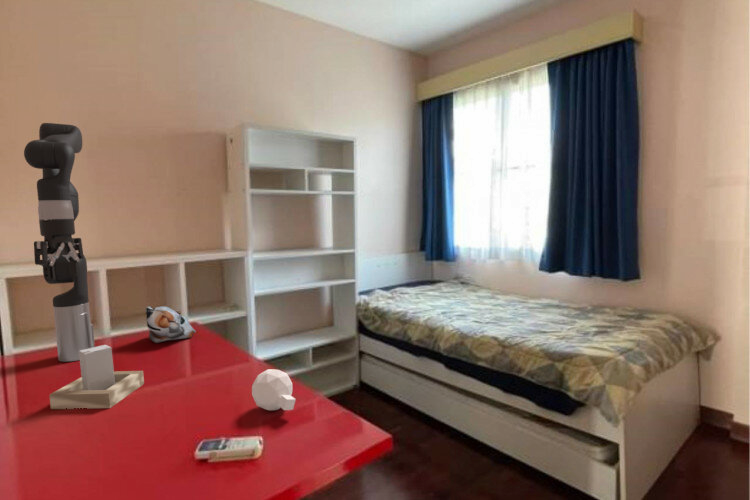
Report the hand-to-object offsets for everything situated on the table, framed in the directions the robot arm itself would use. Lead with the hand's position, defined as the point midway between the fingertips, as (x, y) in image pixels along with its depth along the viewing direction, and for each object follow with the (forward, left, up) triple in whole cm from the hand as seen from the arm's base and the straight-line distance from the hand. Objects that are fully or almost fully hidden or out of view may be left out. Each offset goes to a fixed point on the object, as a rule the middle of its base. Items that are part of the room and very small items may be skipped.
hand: (62, 277), depth 116 cm
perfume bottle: (+22, +62, -28) cm, 72 cm away
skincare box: (+12, +16, -28) cm, 35 cm away
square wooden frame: (+12, +16, -28) cm, 34 cm away
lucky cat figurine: (-35, +10, -28) cm, 46 cm away
